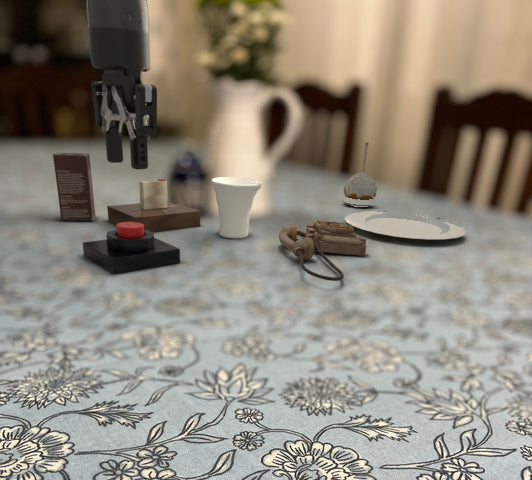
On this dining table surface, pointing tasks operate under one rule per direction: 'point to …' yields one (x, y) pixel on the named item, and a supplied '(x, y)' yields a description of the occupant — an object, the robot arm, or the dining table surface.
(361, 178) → the grey candy apple
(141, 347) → the dining table surface
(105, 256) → the housing
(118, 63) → the robot arm
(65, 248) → the dining table surface
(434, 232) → the plate
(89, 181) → the box
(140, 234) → the button
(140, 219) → the panel
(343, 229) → the telephone
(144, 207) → the cream slab
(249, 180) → the cup
